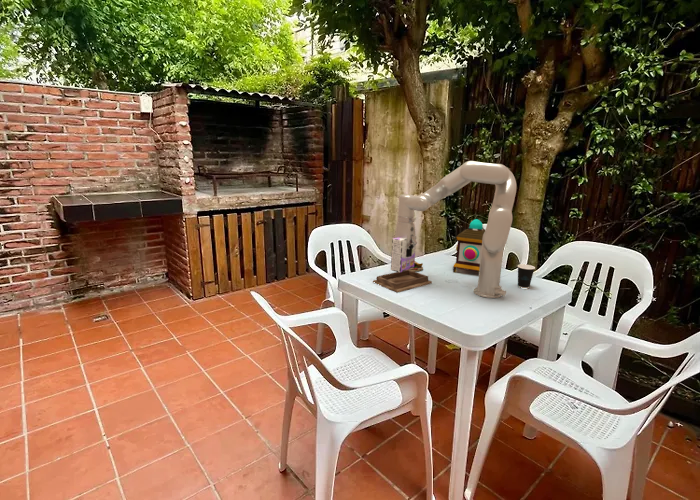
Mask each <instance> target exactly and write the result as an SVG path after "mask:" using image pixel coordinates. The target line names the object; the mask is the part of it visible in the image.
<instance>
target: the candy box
mask: <svg viewBox="0 0 700 500" xmlns="http://www.w3.org/2000/svg"><path fill="white" fill-rule="evenodd" d="M416 239H417V236H416V235H415V240H416ZM416 241H417V240H416ZM409 243H410V242H409ZM409 246H410V244H409ZM407 249H408V248H407V243H406V239H405V238H401V237H397V238H393V237H392V241H391V260H390V271H393V272H399V273H400V272H403V271H405V270H407V269H410V268H412V267H414V263H415V261H416V260H415V259H416V245H415V246H414V247H413V249H412V256H411V257H406V251H407Z"/></svg>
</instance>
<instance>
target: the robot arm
mask: <svg viewBox="0 0 700 500" xmlns="http://www.w3.org/2000/svg"><path fill="white" fill-rule="evenodd" d="M472 182H473V183H481V184H488V185H489V184H490V185H495V191H494V196H493V200H492V203H491V207H490V210H489V213H488V219H487V223H486V228H485V232H484V234H483V237H482V250H481V259H480V269H479V272H478V279H477V287H475V288H473V294H475V295H476V296H479V297H482V298H488V299H498V298H501V297H505V296H506V294H507V290H504V289H502V286H501V285H500V283H501V276H502V275H501V273H502V268H503V267H502V266H503V261H504V260H503V257H504V250H505V249H504V248H505V247H506V245H507V241H508V238H509V235H510V231H511V228H512V224H513V213H512V211H513V207H514V203H515V197H516V195H517V194H516V193H517V181H516V178H515V176H514V174H513V172H512V171H511V169H509V168H508V167H507V166H505V165H504V164H502V163H491V162H490V163H489V162H480V161H475V160H468V161H465V162H464V163H463V164H462V165H460V166H458V167H457V168H456V169H454V170H452V171H451V172H450V173H448V174H447V175H445V176H443V178H441V179H440V180H439V181H438V182H437V183H436V184H435V185H433V186H432V187H430V188H428V190H426V191H425V192H423V193H421V194H419V195H414V194H410V193H409V194H408V193H404V194H403V193H401V194H400V195H399V197H398V212H397V222H396V226H395V233H394V235H393V236H392V239H393V238H397V237H401V238H405V239H406V243H407V248H408V249H407V251H406V257H411V256H412V249H413V247H414V246H415V247H416V245H417V243H418V242H417V240H415V236H416V226H415V222H414V221H415V218H414V216H415V215H414V214H415V211H417V212H424V211H427V210H428V209H429V208H431V207H432V206H434V205H435V204H436V203H438V202H439V201H441V200H443V199H445V198H446V197H449V196H451V195H452V194H454V193H456V192H458V191H459V190H460V189H462V188H463V187H465V186H466V185H468V184H469V183H472ZM409 242H410V243H409ZM409 244H410V246H409Z"/></svg>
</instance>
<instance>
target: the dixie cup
mask: <svg viewBox="0 0 700 500" xmlns="http://www.w3.org/2000/svg"><path fill="white" fill-rule="evenodd" d="M535 269H536V267H535V266H533V265H531V264H523V263H522V264H518V265H517V287H518V286H519V287H522V288H528V287H529V288H530V287H531V282H532V279H533V274H534V272H535ZM519 287H518V288H519Z"/></svg>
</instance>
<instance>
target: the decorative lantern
mask: <svg viewBox="0 0 700 500" xmlns="http://www.w3.org/2000/svg"><path fill="white" fill-rule="evenodd" d="M483 224H484V223H482V221H481V220H479V219H478V218H475V219H473V220H472V221H471V222H470V223H469V227H468V228H467V229H464V230H462V231H461V232H460V233H458V234H457V236H456V240H457V244H456V245H455V246H456V247H455V250H456V258H455V262H454V264H453V267H452V272H453V273H456V272H457V270H458V269H459V270H466V271H472V272H478V273H479V269H480V259H481V250H482V237H483V234H484V232H485V230H486V228H484V226H483Z"/></svg>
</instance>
